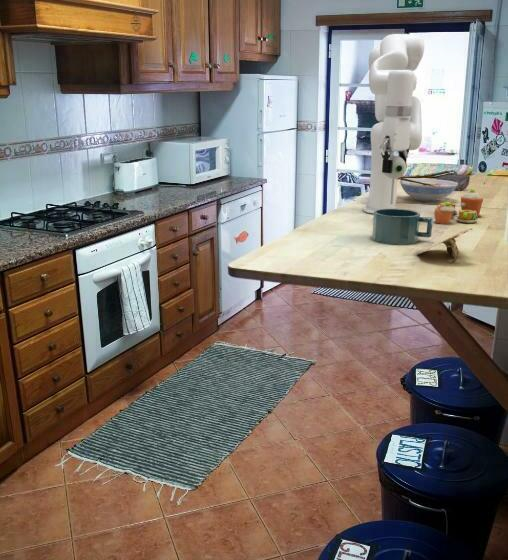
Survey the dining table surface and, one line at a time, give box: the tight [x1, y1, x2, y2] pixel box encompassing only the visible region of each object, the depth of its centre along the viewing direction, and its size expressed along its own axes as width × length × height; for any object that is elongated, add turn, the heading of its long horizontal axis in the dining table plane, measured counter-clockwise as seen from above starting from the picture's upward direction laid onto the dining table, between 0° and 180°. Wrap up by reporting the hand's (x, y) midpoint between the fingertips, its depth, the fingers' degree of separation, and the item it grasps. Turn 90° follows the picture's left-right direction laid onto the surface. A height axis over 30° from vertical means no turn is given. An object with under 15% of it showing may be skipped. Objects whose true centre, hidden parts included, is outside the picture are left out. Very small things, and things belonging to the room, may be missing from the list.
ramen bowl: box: [397, 176, 458, 203], centre depth 255 cm, size 25×23×8 cm
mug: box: [371, 208, 434, 246], centre depth 185 cm, size 17×13×8 cm
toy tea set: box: [434, 188, 484, 225], centre depth 218 cm, size 26×16×10 cm, turn 158°
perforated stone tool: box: [436, 174, 471, 191], centre depth 286 cm, size 15×5×7 cm, turn 70°
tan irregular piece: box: [420, 227, 473, 263], centre depth 165 cm, size 18×14×8 cm
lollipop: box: [384, 155, 407, 204], centre depth 198 cm, size 7×7×15 cm
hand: (393, 171), depth 197 cm, fingers closed on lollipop, 7 cm apart
